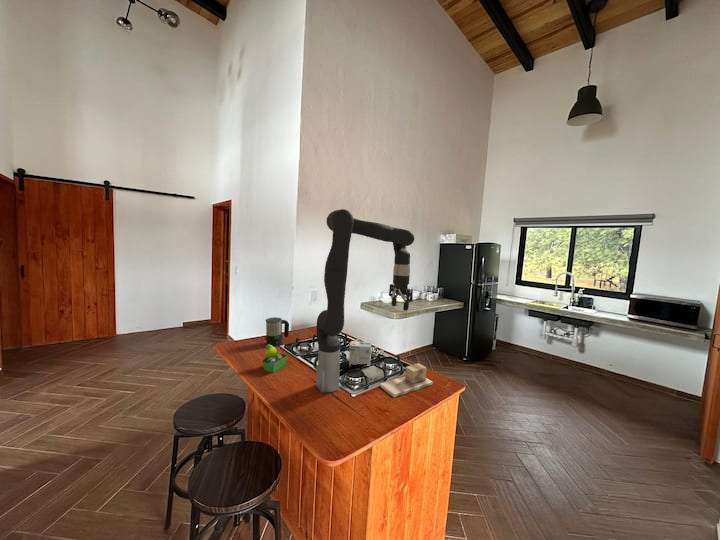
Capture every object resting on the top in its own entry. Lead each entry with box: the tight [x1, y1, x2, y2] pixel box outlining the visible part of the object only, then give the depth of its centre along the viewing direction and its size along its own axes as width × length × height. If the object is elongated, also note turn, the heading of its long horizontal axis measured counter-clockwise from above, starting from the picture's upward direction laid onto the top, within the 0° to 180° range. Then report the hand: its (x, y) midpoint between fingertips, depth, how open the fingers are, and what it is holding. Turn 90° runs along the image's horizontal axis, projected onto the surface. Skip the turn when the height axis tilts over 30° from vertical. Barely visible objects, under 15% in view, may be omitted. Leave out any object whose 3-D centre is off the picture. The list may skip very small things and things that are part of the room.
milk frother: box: [265, 316, 290, 347], centre depth 173 cm, size 14×16×15 cm
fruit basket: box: [260, 344, 288, 373], centre depth 140 cm, size 11×9×11 cm
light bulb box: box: [348, 340, 372, 367], centre depth 147 cm, size 11×7×11 cm, turn 84°
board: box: [379, 375, 434, 398], centre depth 128 cm, size 22×10×1 cm, turn 122°
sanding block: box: [404, 362, 427, 385], centre depth 130 cm, size 8×5×6 cm, turn 122°
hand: (399, 308), depth 135 cm, fingers open, 8 cm apart
